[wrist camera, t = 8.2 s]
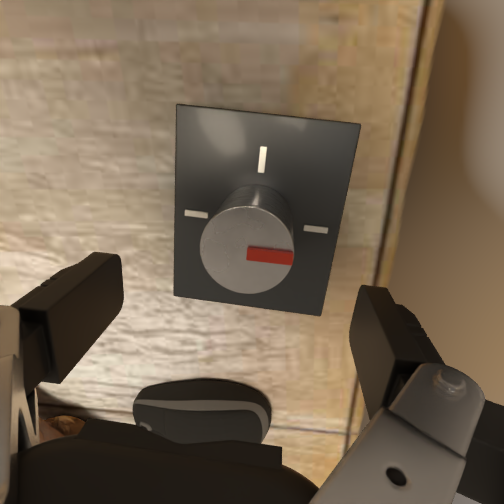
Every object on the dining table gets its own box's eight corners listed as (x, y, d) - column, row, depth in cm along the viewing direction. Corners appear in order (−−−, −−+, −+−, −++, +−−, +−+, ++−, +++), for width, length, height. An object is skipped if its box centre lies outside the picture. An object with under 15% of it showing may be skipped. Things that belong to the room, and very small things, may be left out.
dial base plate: (190, 105, 21) (174, 103, 18) (351, 122, 20) (362, 123, 18) (185, 276, 26) (172, 297, 23) (317, 294, 25) (321, 318, 22)
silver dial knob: (217, 250, 21) (196, 291, 16) (221, 180, 20) (199, 202, 15) (287, 259, 21) (287, 302, 16) (297, 188, 19) (300, 213, 14)
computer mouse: (130, 376, 30) (108, 413, 26) (269, 378, 28) (266, 417, 25) (145, 434, 32) (127, 475, 29) (273, 438, 31) (271, 482, 27)
